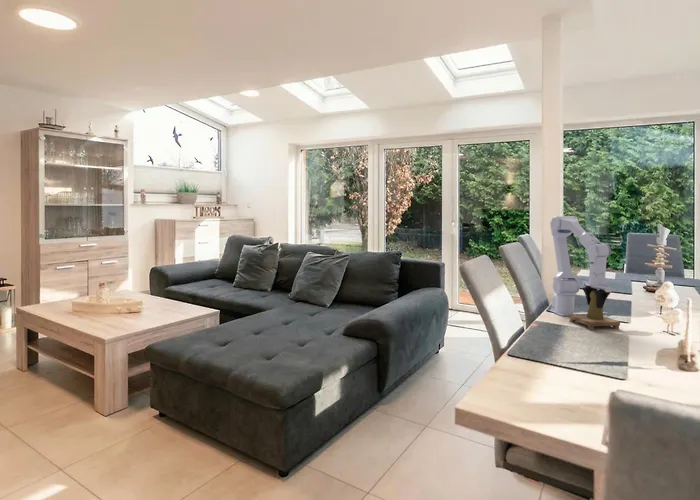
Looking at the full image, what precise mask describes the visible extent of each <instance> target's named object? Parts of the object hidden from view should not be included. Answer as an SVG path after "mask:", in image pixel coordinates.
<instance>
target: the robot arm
mask: <svg viewBox="0 0 700 500" xmlns="http://www.w3.org/2000/svg"><path fill="white" fill-rule="evenodd" d="M550 230H551V231H550V232H551V235H552V239H553V246H554V253H555V260H556V267H557V273H556V274H555V276H554V277H553V279H552V280H553V283H552V289H553V291H554V294H552V297H551V309H549V311H550V312H551V313H554V314H556V315H559V316H561V317H563V316H565V317H566V316H567V317H568V316H569V315H570V314H577V313H575V311H574V310H575V297H576V295H577V293H578V292H580V288H581V287H580V286H581V285H582V286H583V287H582V290H583V292H584V295H585V297H586V298H585V299H586V303H587V306H589V305H590V301H591V298H590V293H591V292H592V291H595V294H596V299H597V308H603V309H604V305H605V302H606V300H607V298H608V297H609V296H610V294H611V293H612V291H613V290H612V289H613V287H612V286H609V285H608V284H607V285H606V271H607V270H606V269H607V258H609V257H610V256H611V253H612V252H611V246H610V245H609V244H608V243H607V242H601V241H600V240H599V239H598V238H597V237H596V236H595V234H594V233H593V232H587V231H586V230H585V229H584V227H582V226H581V224H580V220H579V219H578V218H577V216H574V215H571V216H569V215H568V216H567V215H566V216H565V215H564V216H561V215H560V216H559V215H555V216H553V217H552V219H551V221H550ZM572 233H573V234H574V235H575V236H576V237H578V241H579V243H580V245H582V246H583V248H585V249H586V250H587V252H586V253H587V255H588V262H589V273H588V280H582V284H581V285H580V282H579V280H578V277H577V275H576V274H575V273H573V272H572V268H571V263H570V256H569V255H570V254H569V250H568V249H569V248H568V242H567V238H568V237H569V236H570V235H572ZM578 294H579V293H578Z"/></svg>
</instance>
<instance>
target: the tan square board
mask: <svg viewBox="0 0 700 500" xmlns="http://www.w3.org/2000/svg"><path fill="white" fill-rule="evenodd" d="M569 322H570V323H573V324H575V323H576V322H578V323H581V324H583V325H586V326H587V330H589V331H594V330H595V327H609V326H611V327H612V329H614V330H619V329H620V326H621V321H620V320H617V319H613V318H611V317H608V316H605V315H603V319H602V320H596V319H590V318H588V317H587V313H581V314H580V313H576V314H570V315H569Z"/></svg>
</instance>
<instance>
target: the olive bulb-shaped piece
mask: <svg viewBox="0 0 700 500" xmlns="http://www.w3.org/2000/svg"><path fill="white" fill-rule="evenodd" d="M590 298H591V301H590V305H588V309H587V313H586V314H587V317H588V318H590V319H596V320H602V319H603V316H604V307H603V308H597V299H596V294H595V291H592V292H591V293H590Z"/></svg>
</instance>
